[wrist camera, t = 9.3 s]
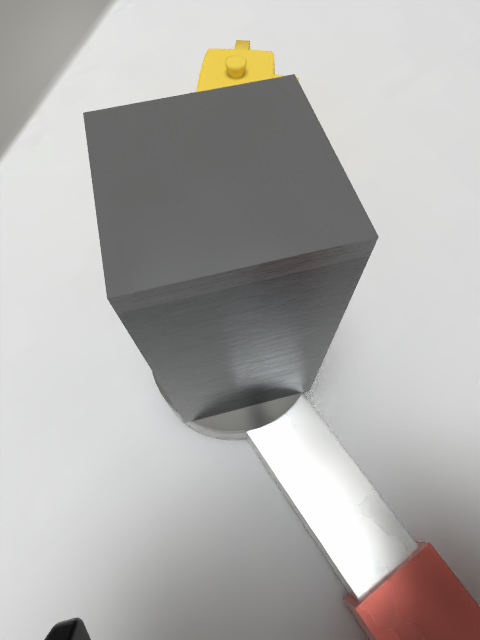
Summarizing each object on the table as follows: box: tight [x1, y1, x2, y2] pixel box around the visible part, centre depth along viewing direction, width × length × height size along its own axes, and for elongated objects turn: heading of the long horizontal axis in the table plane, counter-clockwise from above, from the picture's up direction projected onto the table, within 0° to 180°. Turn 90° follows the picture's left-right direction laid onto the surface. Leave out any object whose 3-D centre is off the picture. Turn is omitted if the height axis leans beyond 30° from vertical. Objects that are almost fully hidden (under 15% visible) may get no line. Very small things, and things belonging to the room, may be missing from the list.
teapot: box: [196, 40, 299, 92], centre depth 24 cm, size 8×6×5 cm
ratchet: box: [152, 371, 480, 640], centre depth 15 cm, size 20×7×4 cm, turn 34°
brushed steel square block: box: [83, 74, 378, 423], centre depth 13 cm, size 5×5×10 cm
